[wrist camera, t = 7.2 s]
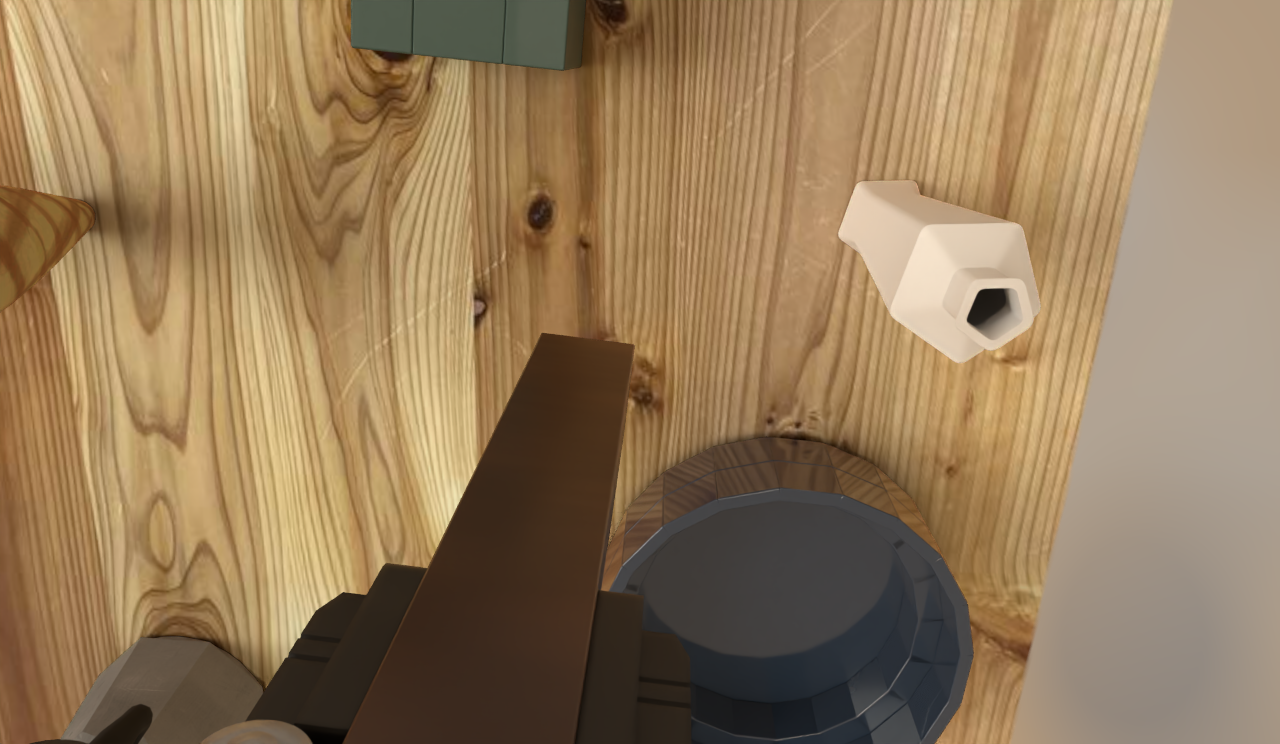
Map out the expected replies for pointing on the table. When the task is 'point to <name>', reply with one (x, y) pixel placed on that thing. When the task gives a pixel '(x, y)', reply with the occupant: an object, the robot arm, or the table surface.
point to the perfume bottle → (943, 267)
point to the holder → (474, 30)
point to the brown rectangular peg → (514, 568)
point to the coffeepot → (165, 695)
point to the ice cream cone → (36, 236)
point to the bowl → (797, 596)
